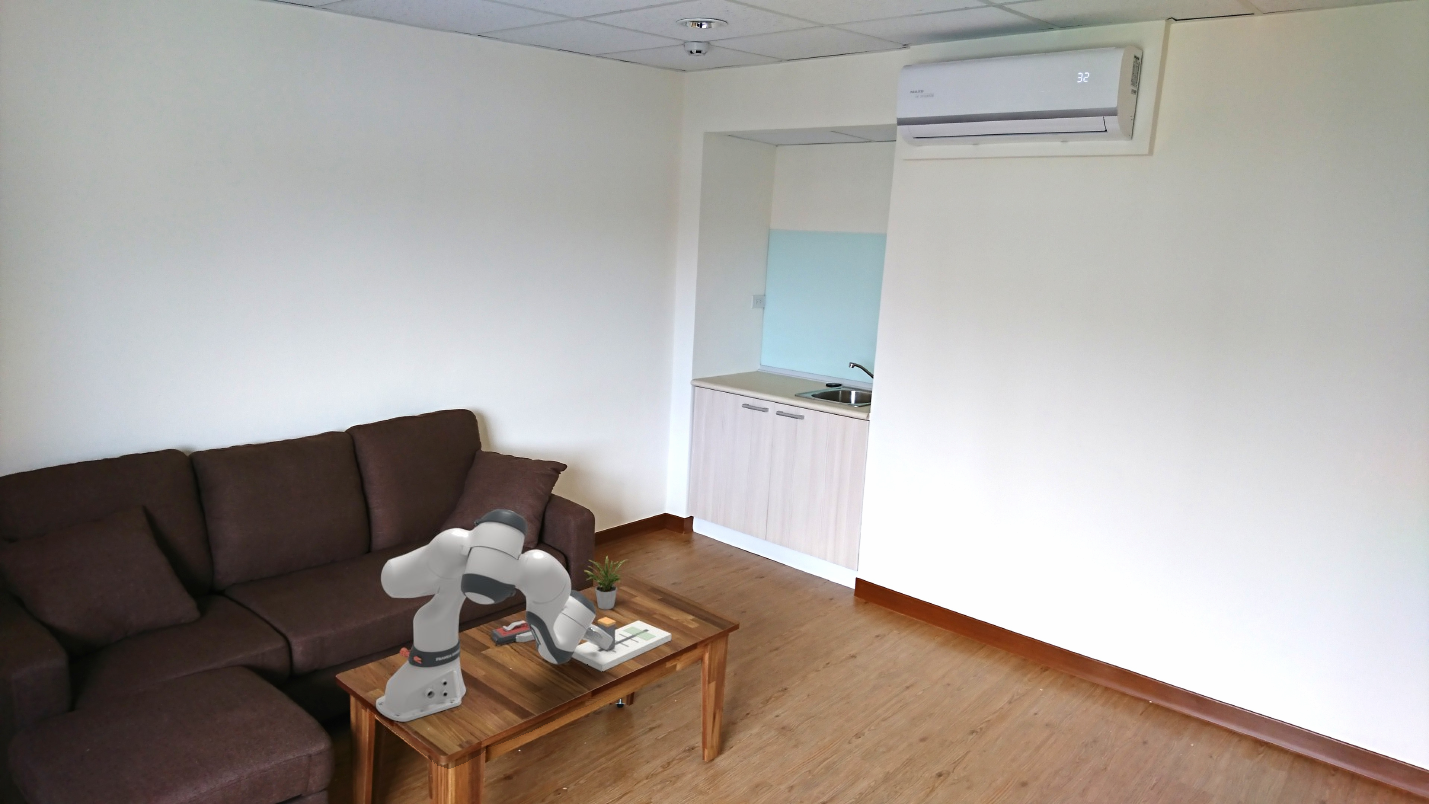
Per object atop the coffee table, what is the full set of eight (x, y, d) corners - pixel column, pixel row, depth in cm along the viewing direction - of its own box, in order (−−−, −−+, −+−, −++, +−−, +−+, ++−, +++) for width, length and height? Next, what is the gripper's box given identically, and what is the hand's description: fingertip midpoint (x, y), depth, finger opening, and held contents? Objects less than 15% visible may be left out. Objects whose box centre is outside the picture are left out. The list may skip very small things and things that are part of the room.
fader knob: (607, 650, 260) (607, 624, 259) (597, 646, 263) (597, 620, 261) (615, 647, 263) (615, 621, 261) (605, 642, 265) (605, 616, 264)
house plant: (614, 593, 308) (615, 547, 305) (638, 606, 298) (639, 559, 295) (578, 603, 299) (578, 555, 296) (601, 617, 289) (601, 568, 286)
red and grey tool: (499, 650, 264) (560, 633, 277) (499, 636, 264) (560, 620, 276) (486, 639, 271) (547, 623, 283) (486, 625, 270) (547, 610, 283)
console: (602, 671, 253) (602, 664, 252) (569, 655, 262) (569, 648, 261) (671, 640, 274) (671, 633, 273) (638, 626, 283) (638, 620, 282)
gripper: (601, 620, 244) (627, 643, 253) (552, 599, 257) (578, 621, 267) (588, 641, 242) (615, 663, 251) (540, 619, 255) (567, 640, 264)
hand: (596, 641), depth 259 cm, fingers closed
